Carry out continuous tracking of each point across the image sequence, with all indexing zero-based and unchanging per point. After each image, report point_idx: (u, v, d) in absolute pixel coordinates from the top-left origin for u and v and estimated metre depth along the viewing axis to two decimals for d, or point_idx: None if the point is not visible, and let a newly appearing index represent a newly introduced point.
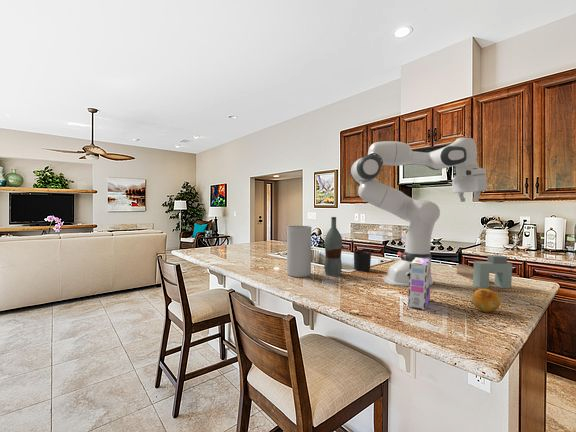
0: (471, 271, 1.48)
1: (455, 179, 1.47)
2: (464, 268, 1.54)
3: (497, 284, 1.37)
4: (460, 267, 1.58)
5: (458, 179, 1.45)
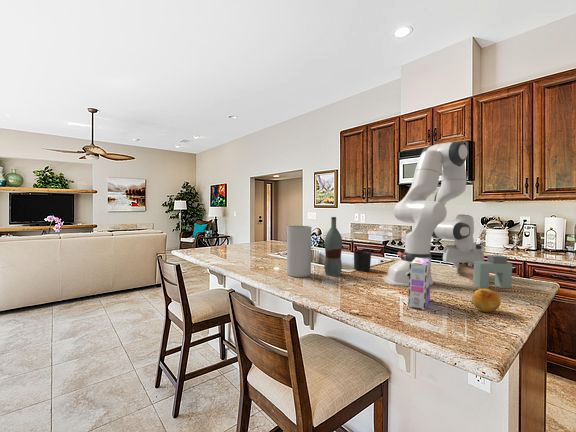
0: (471, 271, 1.48)
1: (453, 250, 1.57)
2: (464, 268, 1.54)
3: (497, 284, 1.37)
4: (460, 267, 1.58)
5: (457, 250, 1.57)
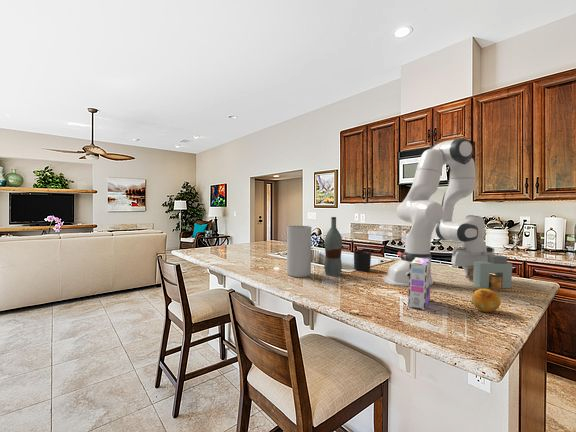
0: None
1: (462, 253, 1.48)
2: None
3: None
4: (469, 271, 1.50)
5: (467, 253, 1.48)
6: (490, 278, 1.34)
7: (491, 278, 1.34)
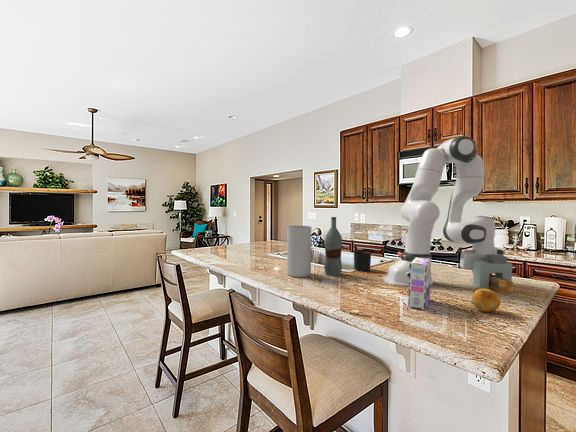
0: (492, 279, 1.33)
1: (471, 256, 1.41)
2: None
3: None
4: None
5: (476, 256, 1.41)
6: (501, 282, 1.27)
7: (502, 282, 1.27)
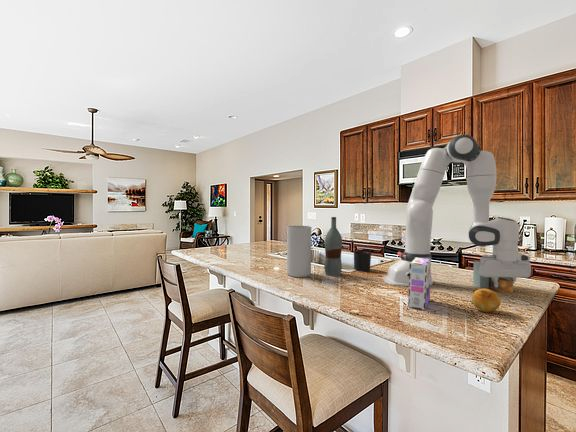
0: None
1: (492, 262, 1.26)
2: None
3: None
4: None
5: (498, 262, 1.26)
6: (501, 282, 1.27)
7: (502, 282, 1.27)
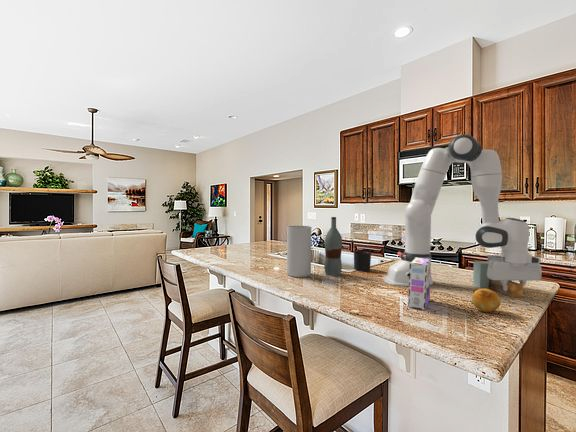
0: (500, 282, 1.28)
1: (501, 264, 1.21)
2: None
3: None
4: None
5: (507, 265, 1.21)
6: (510, 285, 1.22)
7: (511, 286, 1.22)
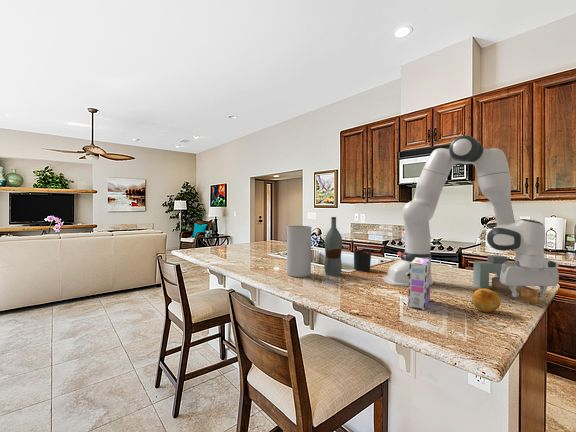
0: None
1: (515, 269, 1.14)
2: None
3: None
4: (496, 281, 1.30)
5: (521, 269, 1.14)
6: (524, 291, 1.15)
7: (525, 291, 1.14)
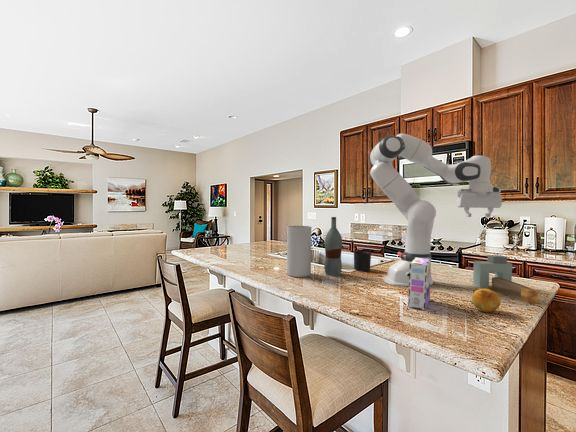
0: (513, 287, 1.21)
1: (468, 194, 1.45)
2: (502, 283, 1.27)
3: None
4: (496, 281, 1.30)
5: (473, 194, 1.45)
6: (524, 291, 1.15)
7: (525, 291, 1.14)
